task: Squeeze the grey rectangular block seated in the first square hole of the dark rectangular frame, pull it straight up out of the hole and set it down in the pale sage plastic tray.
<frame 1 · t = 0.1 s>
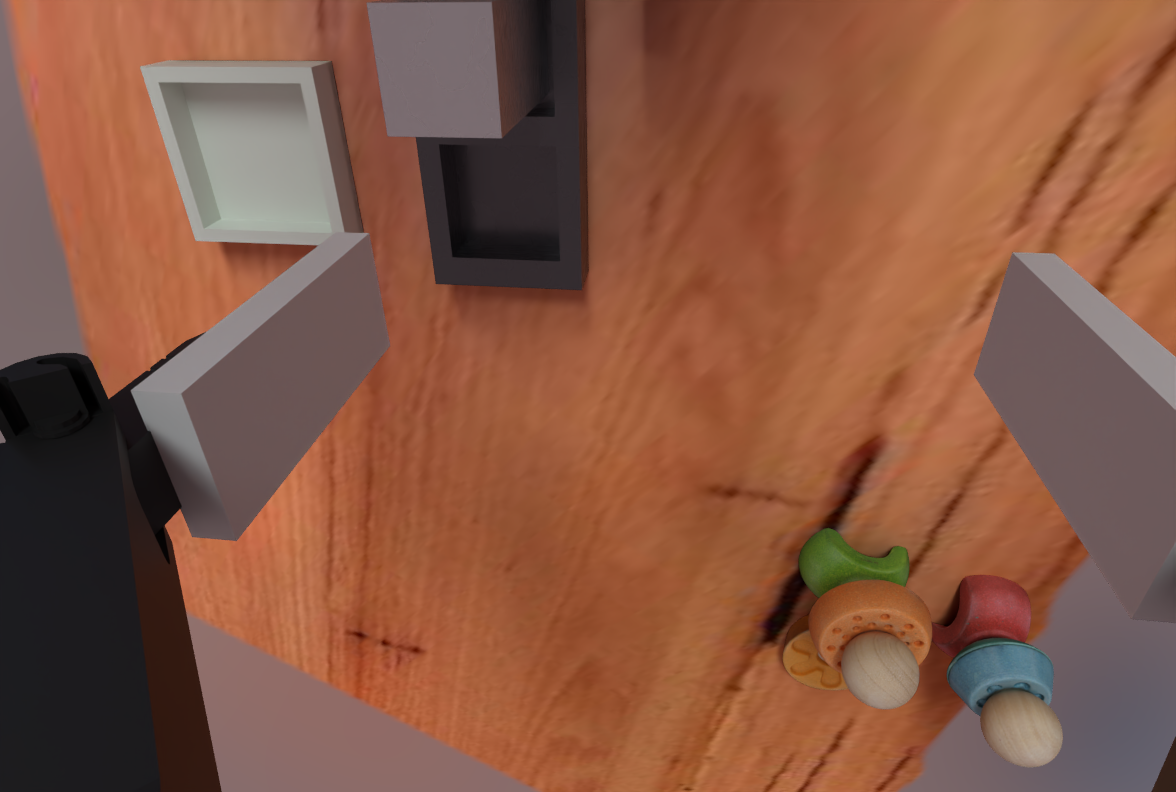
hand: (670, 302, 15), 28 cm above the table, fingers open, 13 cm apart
tray: (270, 150, 43), on the table
wooden stacking toy: (893, 609, 57), on the table
grey rectangular block: (500, 42, 38), resting on dark rectangular frame
dark rectangular frame: (508, 119, 40), on the table
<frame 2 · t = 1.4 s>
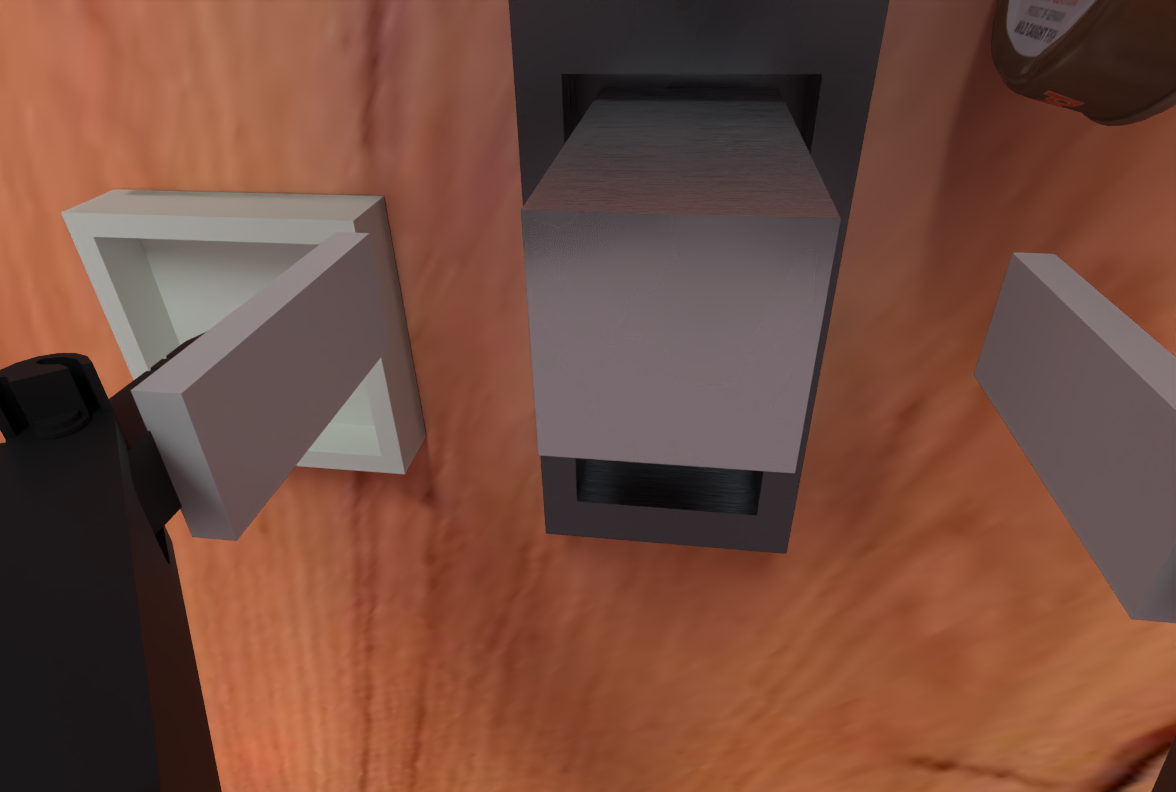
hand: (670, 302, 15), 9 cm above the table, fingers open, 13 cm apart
tray: (282, 322, 27), on the table
grey rectangular block: (684, 176, 22), resting on dark rectangular frame
dark rectangular frame: (678, 289, 24), on the table
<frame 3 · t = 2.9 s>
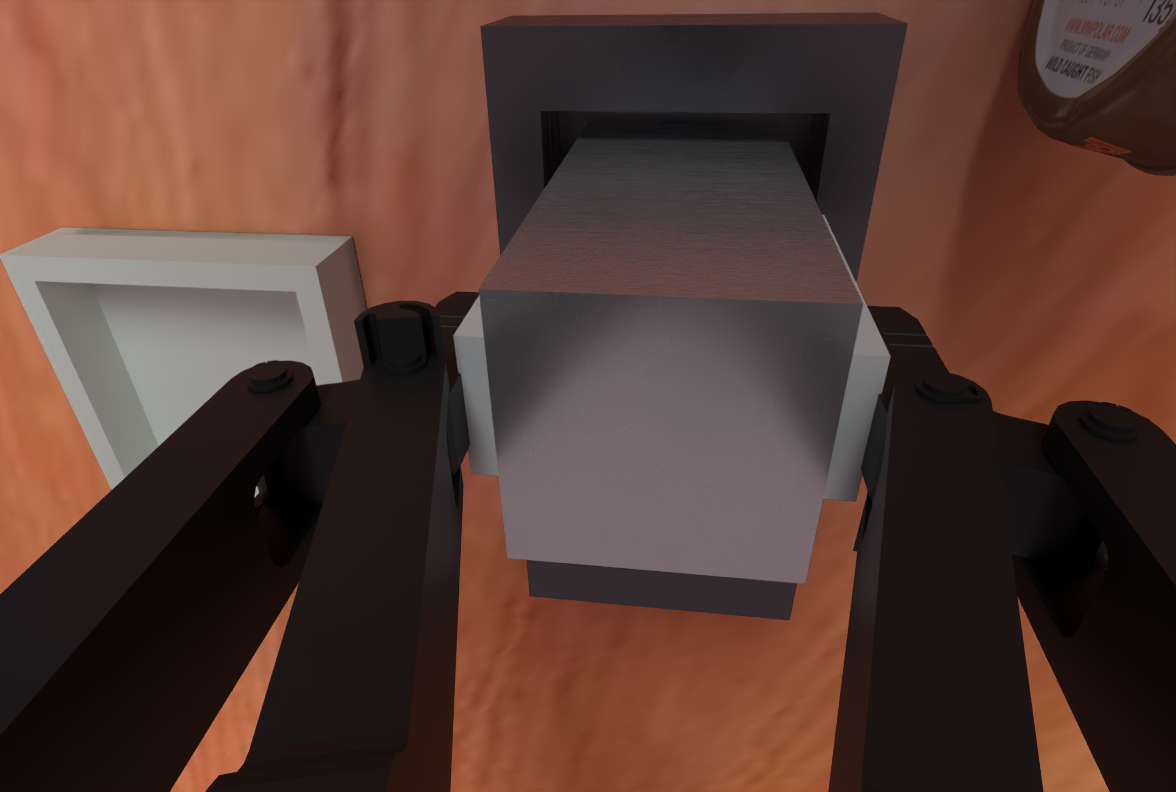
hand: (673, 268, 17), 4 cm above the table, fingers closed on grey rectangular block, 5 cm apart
tray: (246, 367, 25), on the table
grey rectangular block: (677, 217, 20), point 1 cm above the table, touching gripper, dark rectangular frame
dark rectangular frame: (671, 337, 22), on the table
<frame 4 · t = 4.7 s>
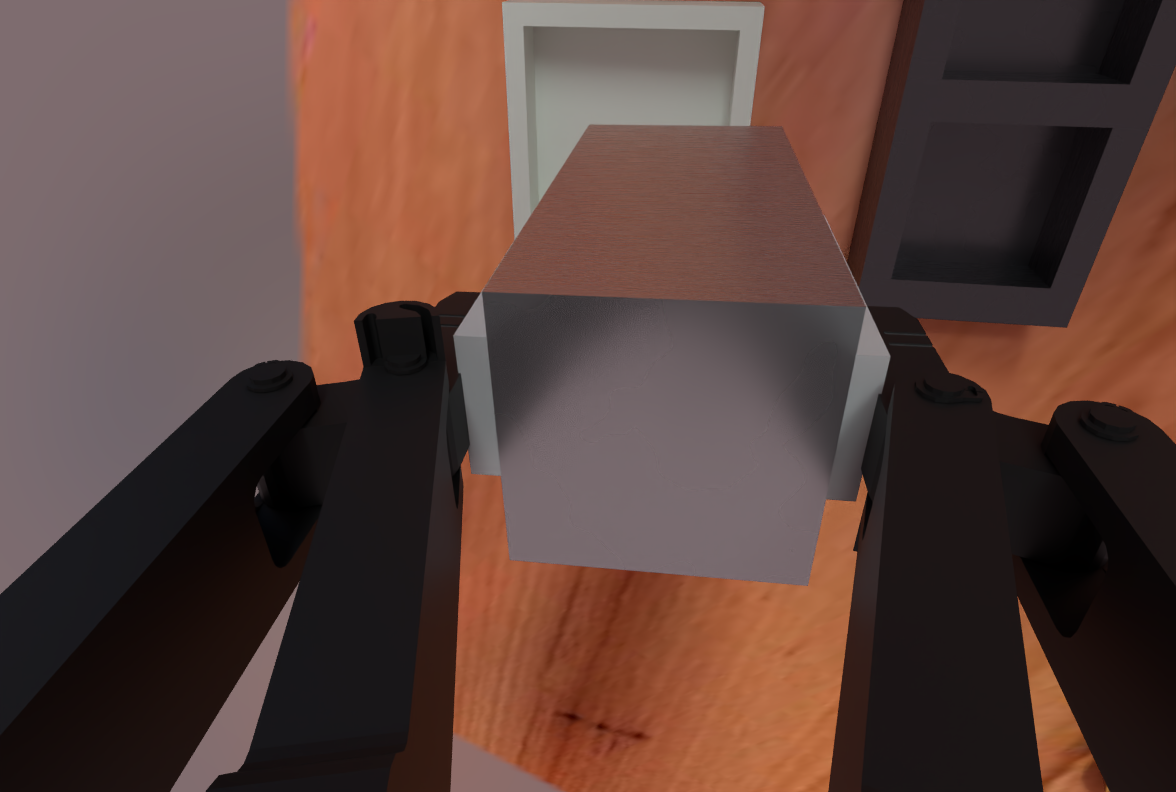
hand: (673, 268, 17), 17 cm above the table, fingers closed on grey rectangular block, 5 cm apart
tray: (631, 127, 32), on the table
grey rectangular block: (679, 219, 20), point 14 cm above the table, touching gripper
dark rectangular frame: (999, 89, 29), on the table
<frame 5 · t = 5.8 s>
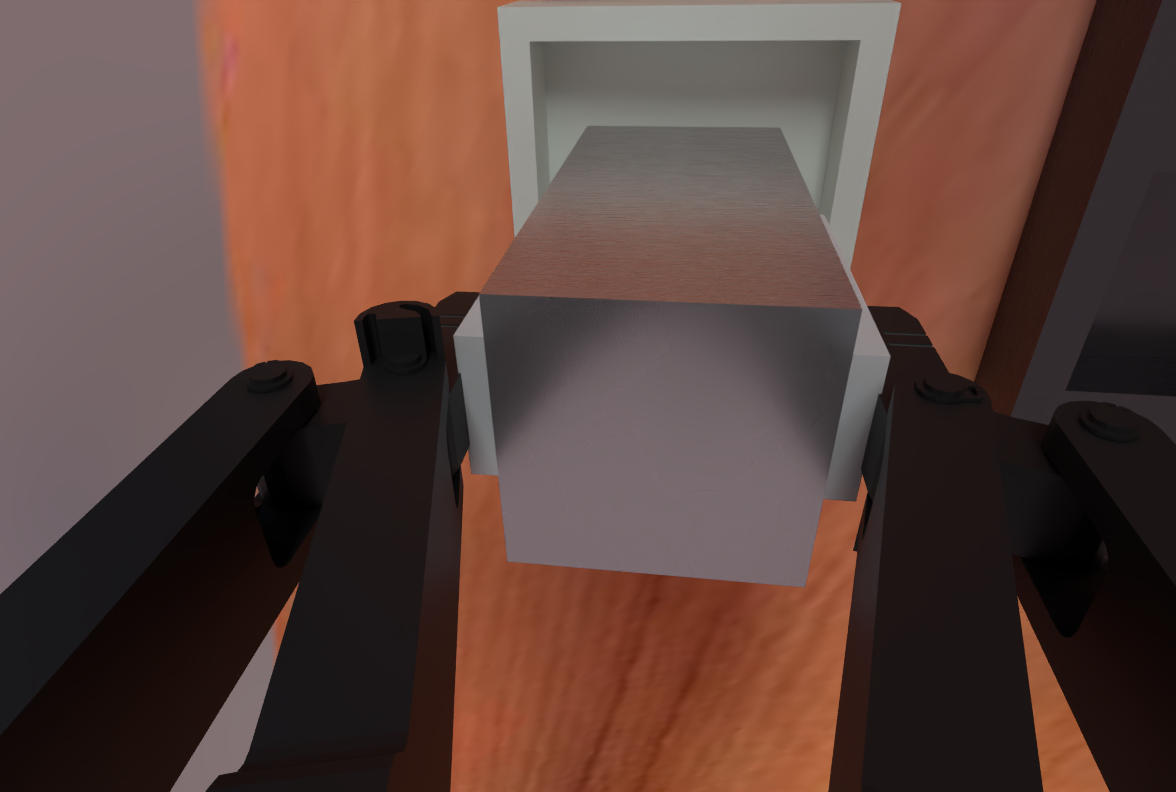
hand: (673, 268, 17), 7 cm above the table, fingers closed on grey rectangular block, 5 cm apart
tray: (683, 179, 22), on the table
grey rectangular block: (677, 220, 20), point 3 cm above the table, touching gripper
when the fingers open (6 cm above the table, at t = 6.5 s): grey rectangular block drops 1 cm, resting on tray.
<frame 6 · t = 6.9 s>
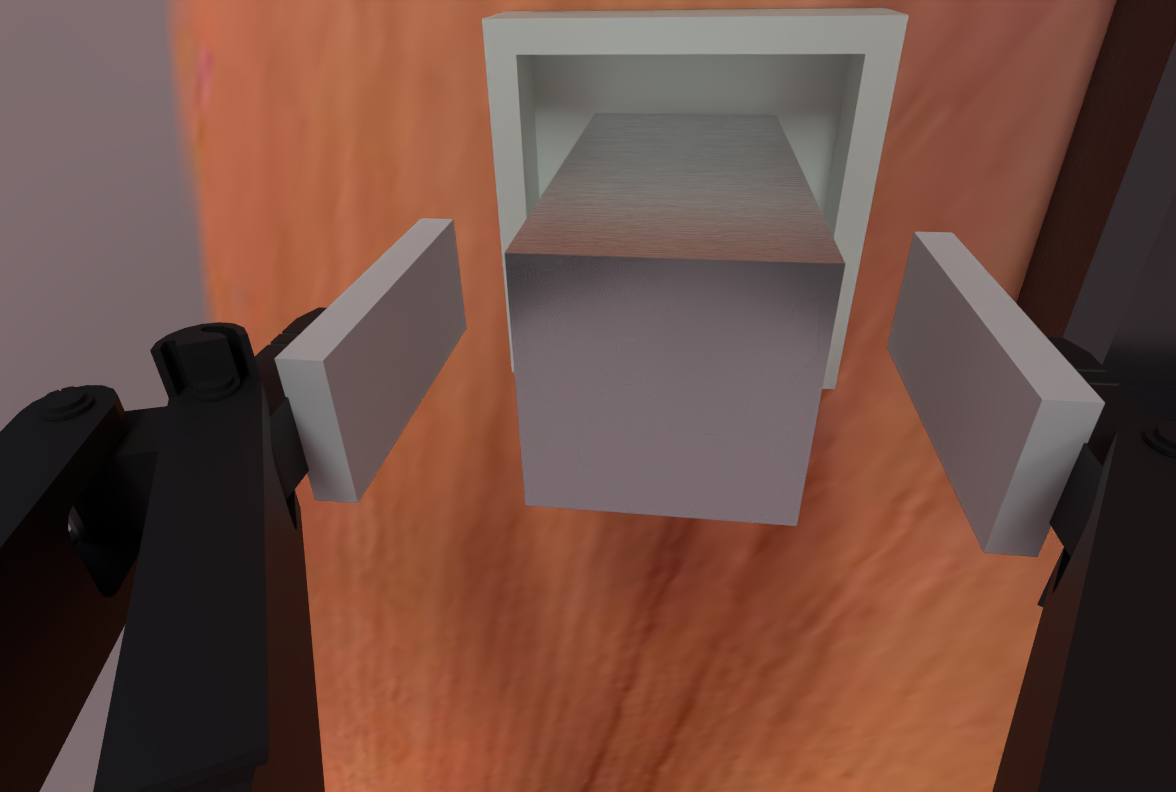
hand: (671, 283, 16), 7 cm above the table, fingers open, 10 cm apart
tray: (679, 196, 21), on the table
grey rectangular block: (679, 203, 21), point 1 cm above the table, touching tray
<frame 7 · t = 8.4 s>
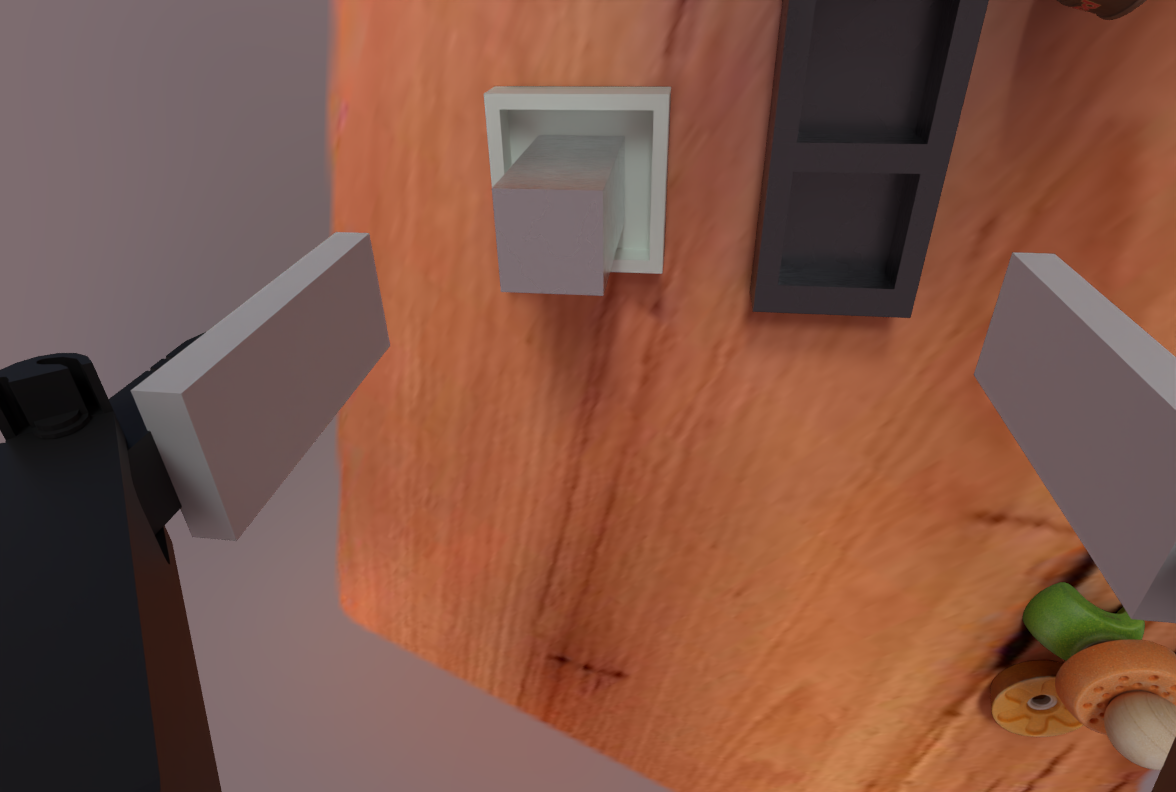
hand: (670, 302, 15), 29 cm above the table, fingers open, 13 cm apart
tray: (583, 176, 42), on the table
wooden stacking toy: (1107, 659, 58), on the table
grey rectangular block: (582, 179, 42), point 1 cm above the table, touching tray
dark rectangular frame: (848, 145, 40), on the table
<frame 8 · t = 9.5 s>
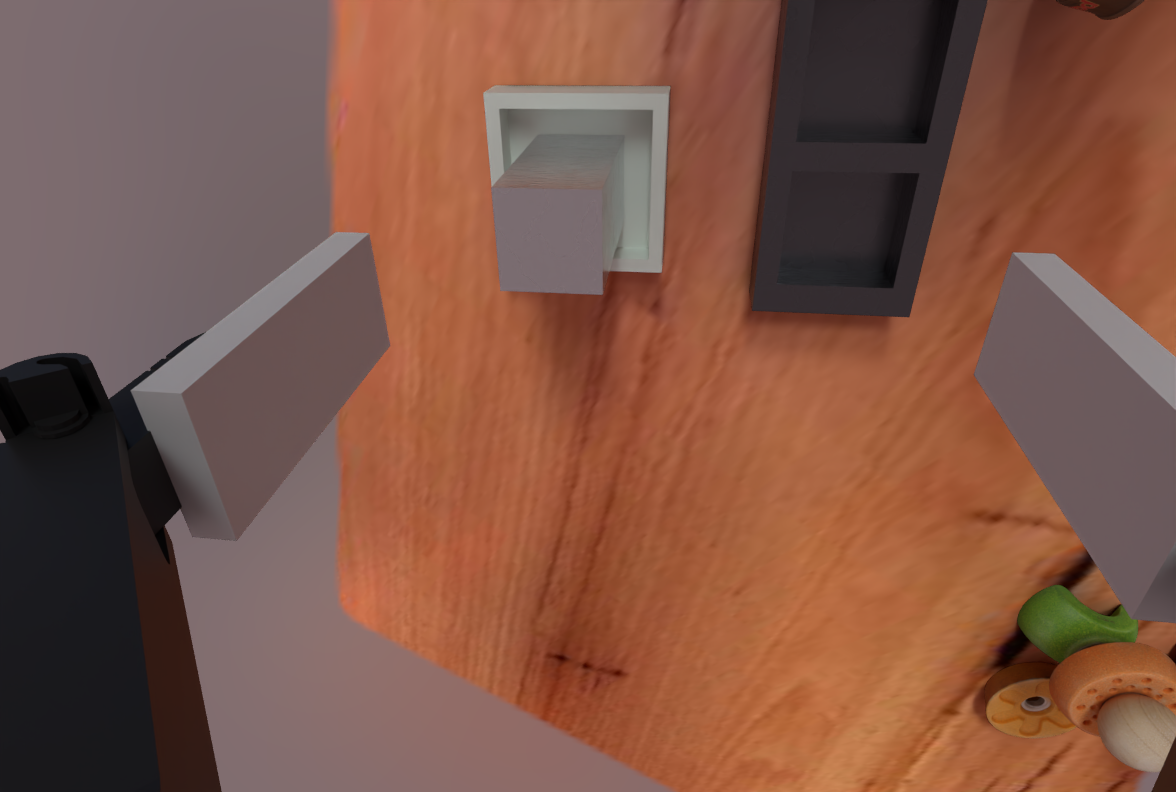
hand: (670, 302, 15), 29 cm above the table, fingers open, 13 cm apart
tray: (583, 175, 42), on the table
wooden stacking toy: (1101, 661, 58), on the table
grey rectangular block: (582, 178, 42), point 1 cm above the table, touching tray
dark rectangular frame: (847, 144, 40), on the table
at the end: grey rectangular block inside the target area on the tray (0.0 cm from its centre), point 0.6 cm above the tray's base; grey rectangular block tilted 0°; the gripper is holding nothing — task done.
